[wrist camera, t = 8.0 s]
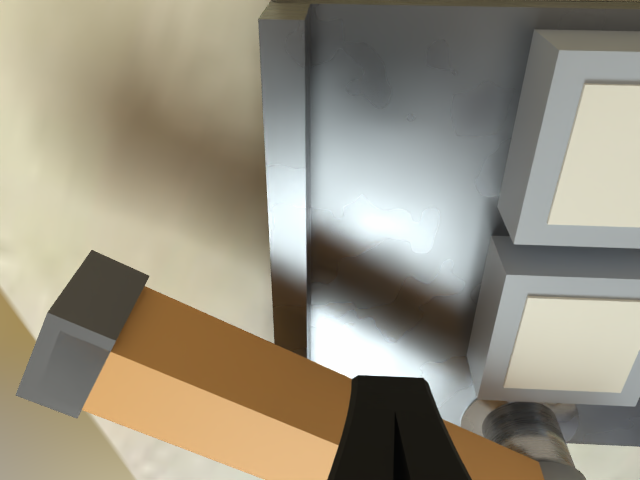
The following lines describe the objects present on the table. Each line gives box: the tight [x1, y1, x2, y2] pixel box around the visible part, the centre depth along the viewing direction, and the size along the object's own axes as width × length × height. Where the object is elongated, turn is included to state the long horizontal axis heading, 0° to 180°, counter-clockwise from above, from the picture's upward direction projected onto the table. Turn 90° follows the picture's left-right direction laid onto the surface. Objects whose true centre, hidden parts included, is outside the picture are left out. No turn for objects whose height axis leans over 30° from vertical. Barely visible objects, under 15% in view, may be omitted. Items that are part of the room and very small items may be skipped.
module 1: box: [497, 29, 640, 249], centre depth 14 cm, size 5×5×2 cm
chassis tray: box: [258, 0, 640, 468], centre depth 17 cm, size 14×17×4 cm
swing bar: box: [16, 250, 586, 480], centre depth 16 cm, size 18×3×3 cm, turn 60°
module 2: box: [467, 236, 640, 407], centre depth 17 cm, size 5×5×2 cm
